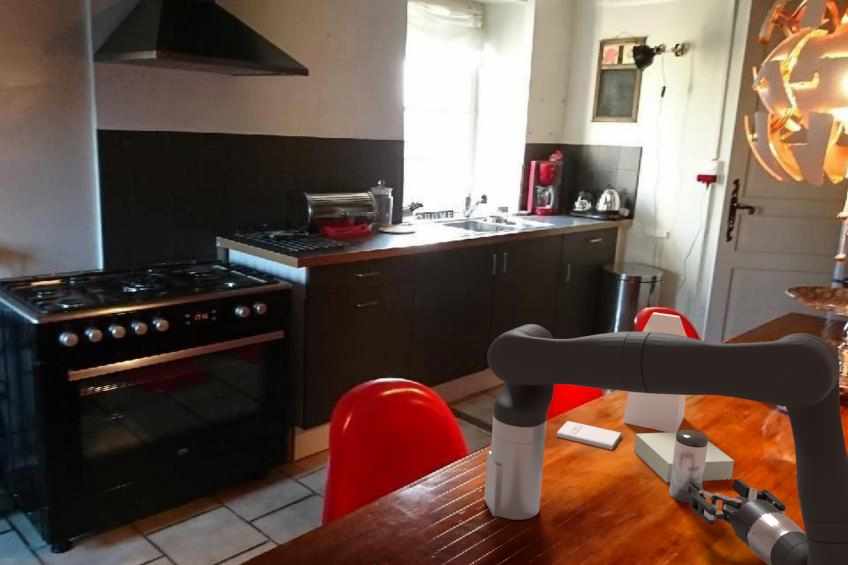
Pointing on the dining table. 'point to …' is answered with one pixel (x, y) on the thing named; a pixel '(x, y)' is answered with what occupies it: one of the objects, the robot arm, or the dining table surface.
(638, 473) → the dining table surface
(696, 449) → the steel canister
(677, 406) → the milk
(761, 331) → the dining table surface
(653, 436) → the stand
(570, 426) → the external hard drive
